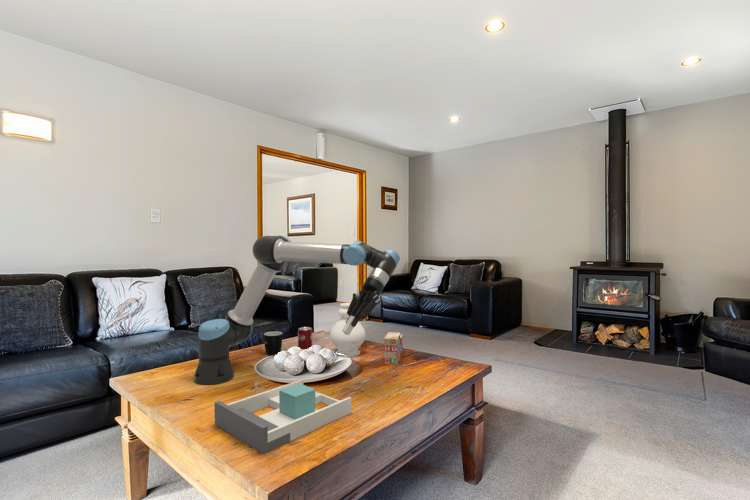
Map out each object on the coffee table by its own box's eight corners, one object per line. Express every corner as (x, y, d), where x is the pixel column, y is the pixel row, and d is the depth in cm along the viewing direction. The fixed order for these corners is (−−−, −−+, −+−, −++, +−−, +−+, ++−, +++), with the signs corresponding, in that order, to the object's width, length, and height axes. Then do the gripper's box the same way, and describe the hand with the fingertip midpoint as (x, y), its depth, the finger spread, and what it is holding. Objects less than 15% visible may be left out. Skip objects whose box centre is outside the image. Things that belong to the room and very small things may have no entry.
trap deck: (301, 392, 149) (301, 374, 149) (351, 412, 132) (351, 391, 132) (214, 424, 123) (214, 402, 123) (262, 454, 106) (262, 428, 106)
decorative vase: (355, 360, 190) (355, 307, 189) (323, 355, 197) (323, 305, 196) (371, 350, 206) (371, 302, 205) (340, 346, 213) (340, 300, 212)
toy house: (390, 351, 205) (391, 327, 204) (403, 352, 203) (403, 328, 203) (383, 364, 184) (384, 337, 183) (397, 365, 182) (397, 338, 182)
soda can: (300, 354, 199) (300, 330, 198) (296, 350, 205) (296, 327, 205) (314, 352, 202) (314, 329, 202) (309, 349, 208) (309, 326, 208)
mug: (263, 351, 203) (263, 332, 203) (281, 350, 206) (281, 330, 206) (264, 358, 192) (264, 337, 191) (283, 356, 194) (283, 336, 194)
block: (299, 404, 132) (299, 383, 132) (315, 411, 127) (315, 389, 127) (279, 412, 126) (279, 390, 126) (295, 419, 121) (295, 396, 121)
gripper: (393, 290, 152) (364, 341, 140) (367, 287, 161) (337, 335, 149) (384, 277, 148) (353, 329, 136) (358, 275, 157) (327, 324, 145)
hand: (345, 332), depth 142 cm, fingers closed
